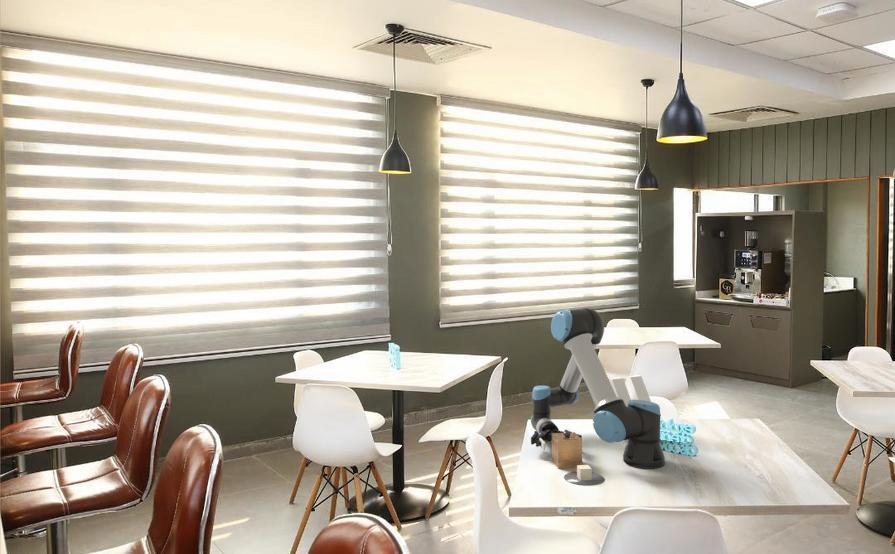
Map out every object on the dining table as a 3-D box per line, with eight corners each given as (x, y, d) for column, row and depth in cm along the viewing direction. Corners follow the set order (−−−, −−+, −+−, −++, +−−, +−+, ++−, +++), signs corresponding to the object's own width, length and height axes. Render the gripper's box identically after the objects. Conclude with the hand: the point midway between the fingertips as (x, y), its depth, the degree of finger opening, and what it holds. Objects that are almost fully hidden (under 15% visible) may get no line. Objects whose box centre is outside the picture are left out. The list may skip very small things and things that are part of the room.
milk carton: (596, 431, 295) (596, 374, 294) (625, 426, 302) (625, 371, 300) (624, 443, 278) (625, 383, 276) (654, 438, 284) (655, 379, 282)
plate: (606, 476, 240) (606, 473, 240) (602, 490, 227) (602, 487, 227) (567, 472, 245) (567, 469, 245) (561, 486, 232) (561, 483, 231)
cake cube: (587, 475, 238) (587, 464, 238) (591, 479, 234) (591, 468, 234) (576, 476, 238) (576, 465, 237) (580, 480, 234) (580, 469, 233)
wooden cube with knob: (574, 460, 256) (574, 428, 255) (582, 468, 247) (582, 435, 246) (551, 462, 255) (551, 429, 254) (558, 470, 246) (558, 436, 245)
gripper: (577, 437, 278) (594, 454, 257) (517, 440, 275) (529, 457, 254) (577, 419, 277) (594, 434, 256) (517, 422, 274) (529, 437, 253)
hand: (562, 446), depth 255 cm, fingers open, 13 cm apart
